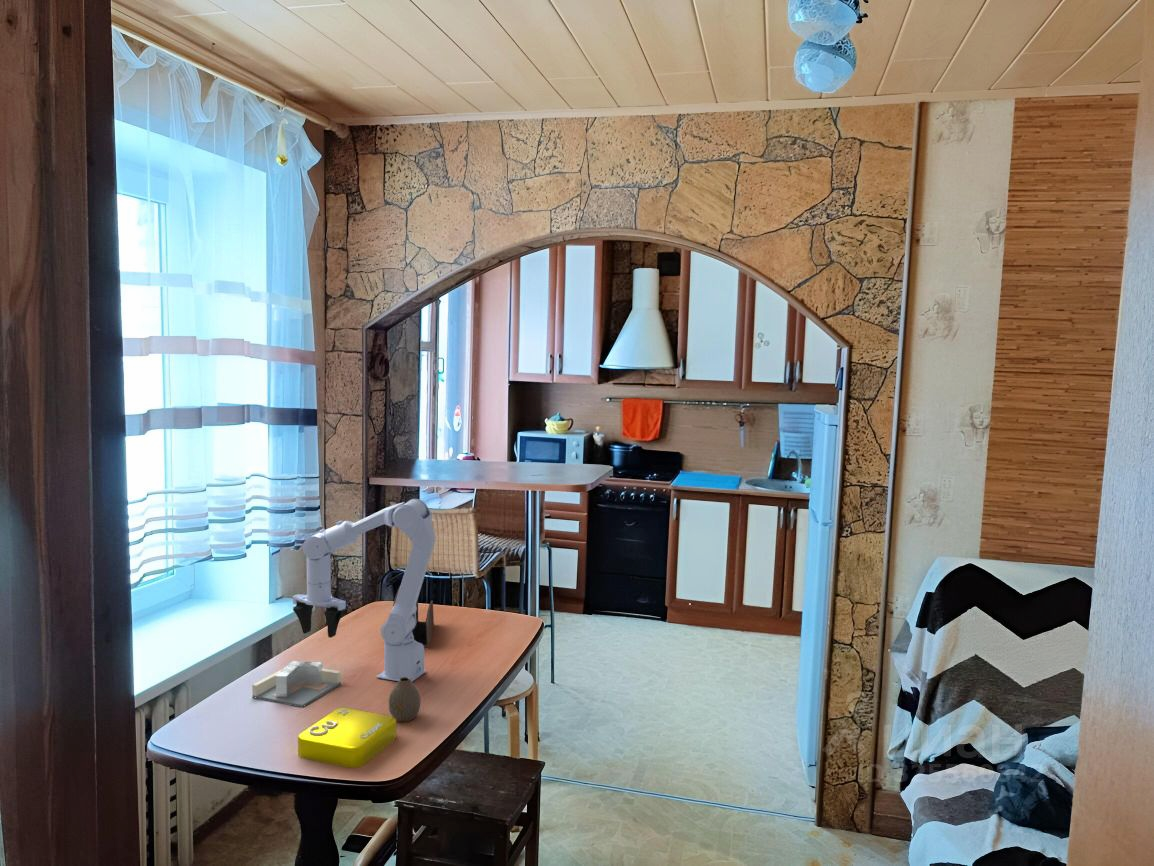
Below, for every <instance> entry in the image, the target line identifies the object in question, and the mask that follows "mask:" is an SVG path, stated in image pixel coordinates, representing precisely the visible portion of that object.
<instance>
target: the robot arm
mask: <svg viewBox="0 0 1154 866" xmlns="http://www.w3.org/2000/svg"><path fill="white" fill-rule="evenodd" d="M335 524H336V525H334V526H332V527H329V528H327V529H325V528H322V529H319V532H318V533H316V534H314V535H310V536H309V537H308V538H306V539H305V540H304V542H303V544H302V553H303V555H304V556H305V557H306V594H299V593H298V594H295V595H293V596H292V605H295V606H294V607H293V608H292V611H293V612H294V613H295V615H296V617H297V618H298V621H299V624H300V625H301V626H300V627H301V630H302V634H305V635H306V634H308V633H310V632H311V629H312V614H313V610H314V609H313V608H314V607H321V608H329V609H326V610H324V616H325V619H326V625H327V638H333V637H335V636H336V635H337V630H338V626H339V624H340V620H341V618H342V616H343V615H344V613H345V611H346V610H345V609H346V607H347V602H346V600H343V599H339V598H336V597H333V596H332V581H331V580H332V578H331V577H332V576H331V575H332V574H331V573H332V571H331V569H332V568H331V563H332V562H331V553H332V552H336V551H337V550H340V549H342V548H345V547H347V546H349V545H352V544H355V543H356V542H357V541H358V539H359V535H362V534H363V533H366V532H368V531H371V530H373V529H375V528H378V527H380V526H384V525H386V526H388V527H394V526H395V527H396V528H397V529H398V530H399V531H401V532H402V533H403V534H404V535H406V536H407V537H408V538H409V540H410V542H411V543H412V545H411V549H410V552H409V556H408V561H407V563H406V566H405V570H404V574H403V576H402V579H401V583H400V585H401V586H400V585H399V587H400V589H399V592H398V596H397V599H396V602H395V605H394V606H393V605H392V609H391V610H390V613H389V616H388V617H387V619H386V621H385V622H384V623H383V624H382V625H381V628H380V634H381V637H382V640H383V645H384V646H383V647H384V648H383V649H384V650H383V654H384V656H383V657H384V658H383V660H384V661H383V662H384V663H383V664H384V665H383V667H384V668H383V669H384V670H383V671H382V672H381V673H379V674H378V675H377V676H376V677H377V678H378V679H383V680H389V681H395V682H398V681H399V679H400V678H403V677H408V678H410V679H411V682H412V683H413V682H414V681H415V680H416V679H418V678H420V677H421V676H422V675H424V674H425V673H426V672H427V670H426V669H425V649H424V646H423V644H421V643H419V642H417V641H415V640H414V636H413V633H412V630H413V629H414V628H415V626H416V610H417V607H416V602H417V599H418V600H419V596H420V592H421V589H422V585H423V583H424V580H425V577H426V572H427V569H428V565H429V562H430V559H431V556H432V553H433V550H434V547H435V543H436V535H435V530H434V525H433V524H434V523H433V520H432V511H431V510H430V508H429V507H428V505H427V504H426V503H425V502H424V500H421V499H418V498H412V499H410V500H408V501H407V502H406V503H405V501H403V502H400V503H396V504H393V505H390V506H387V507H385V508H382V509H381V510H379V511H377V512H374V513H372V514H371V515H369V516H367V517H364V518H361V519H360V520H358V521H356V522H353V521H349V520H345V521H343V520H339V521H337V522H336V523H335Z"/></svg>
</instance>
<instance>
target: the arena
mask: <svg viewBox="0 0 1154 866" xmlns="http://www.w3.org/2000/svg"><path fill="white" fill-rule="evenodd" d="M284 668H285V667H284ZM284 668H281V669H280V670H278V671H276V672H274V673H272V674H270V675H268V676H266V677H265V678H263V679H261V680H259V681H257V682H254V684H252V689H251V690H252V698H253V697H256V698H255V699H257V698H261V699H260V700H262V699H265V700H264V701H267V700H270V701H269V702H272V701H276V702H275V703H277V702H280V703H279V704H282V703H286V704H285V705H288V704H291V705H290V706H293V705H296V706H295V707H298V706H301V707H300V708H304V707H305V706H304V705H306V704H307V705H309V704H310V703H309V702H311V701H312V702H314V701H315V699H316V698H317V699H319V698H321V697H322V696H323V694H324V695H325V694H327V693H329V692H330V691H332V690H333V689H335V688H337V687H338V686H340V685H341V684H342V673H341V671H339V670H334V669H330V668H329V669H327V668H324V667H322V674H323V682H322V684H321V685H320V686H319V687H317V686H297V687H296V688H295V689H294V691H293V692H292V693H291V694H290V695H289V696H288V697H276V675H277V674H278V673H280V672H281V671H282V670H283V669H284ZM334 687H335V688H334ZM331 689H332V690H331ZM328 691H329V692H328ZM326 692H327V693H326ZM321 695H322V696H321ZM318 697H319V698H318ZM317 699H316V700H317ZM313 700H314V701H313ZM312 702H311V703H312ZM308 703H309V704H308ZM307 705H306V706H307ZM303 706H304V707H303Z"/></svg>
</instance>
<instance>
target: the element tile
mask: <svg viewBox="0 0 1154 866" xmlns="http://www.w3.org/2000/svg"><path fill="white" fill-rule="evenodd" d="M395 738H397V720H396V718H394V717H393V716H392V715H387V714H386V715H385V714H382V713H375V712H369V711H364V710H358V709H353V708H347V707H337V708H336V709H334V710H333V711H331V712H330V713H328V714H326V715H325V716H324V717H322V718H321V719H320V720H318V721H316V722H315V723H313V724H312V725H310V726H309V727H308V728H306V729H304V730H303V731H301V732H300V733H299V734H298V736H297V755H298V757H300V758H302V757H303V759H307V760H312V761H316V760H317V761H316V762H321V763H326V764H331V765H334V766H335V765H336V766H339V767H345V768H348V769H349V768H351V769H356V768H360V767H363V766H364V765H366V764H367V763H368V762H369V761H371V760H372V759H373V758H374V757H375V756H377V755H378V754H379V753H381V752H382V751H383V750H384V749H385V748H386V747H387V746H389V745H390V744H391V743H393V742H394V741H395V740H396V739H395ZM394 739H395V740H394ZM393 740H394V741H393Z"/></svg>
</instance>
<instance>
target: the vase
mask: <svg viewBox="0 0 1154 866" xmlns="http://www.w3.org/2000/svg"><path fill="white" fill-rule="evenodd" d="M421 701H422V699H421V694H420V691H419V689H418V688H417V686H416V685H415V684H414V683H413V681H412V682H411V679H410V678H408V677H403V678H400V679H399V681H397V683H396V685H395V686H394V687H393V689H392V690H391V692H390V694H389V697H388V710H389V713H390V716H392V717H394V718H396V721H397V720H398V721H397V722H401V721H405V722H409V720H410V721H411V720H414V718H415V717H416V716H417V715H418V713H419V711H420V708H421V704H422V702H421Z"/></svg>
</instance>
